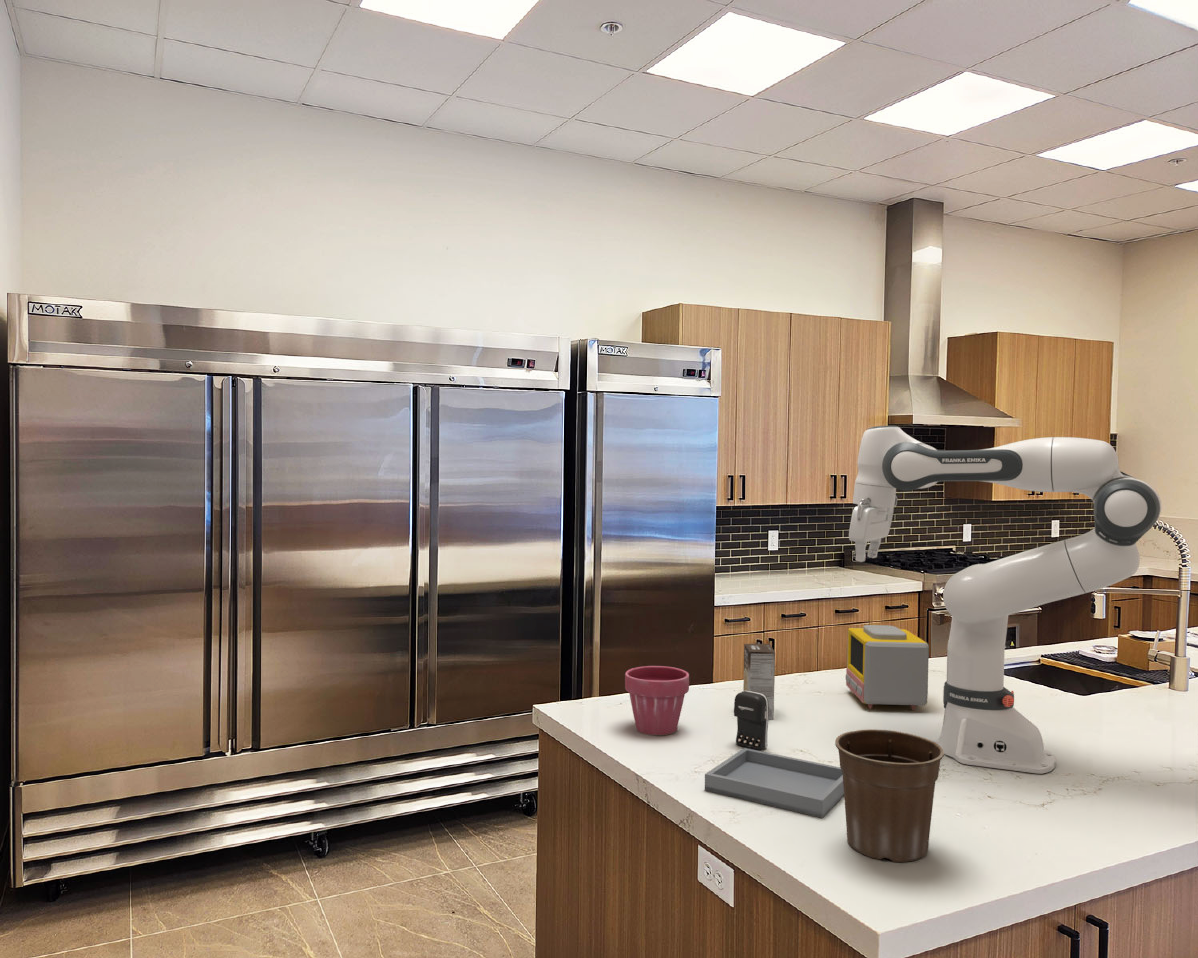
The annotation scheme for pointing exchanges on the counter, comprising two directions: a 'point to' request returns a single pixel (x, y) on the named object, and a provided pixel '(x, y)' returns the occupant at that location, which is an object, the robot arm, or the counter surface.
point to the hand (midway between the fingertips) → (866, 559)
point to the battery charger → (751, 719)
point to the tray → (778, 781)
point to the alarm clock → (887, 666)
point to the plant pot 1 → (656, 697)
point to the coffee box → (760, 671)
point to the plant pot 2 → (888, 792)
